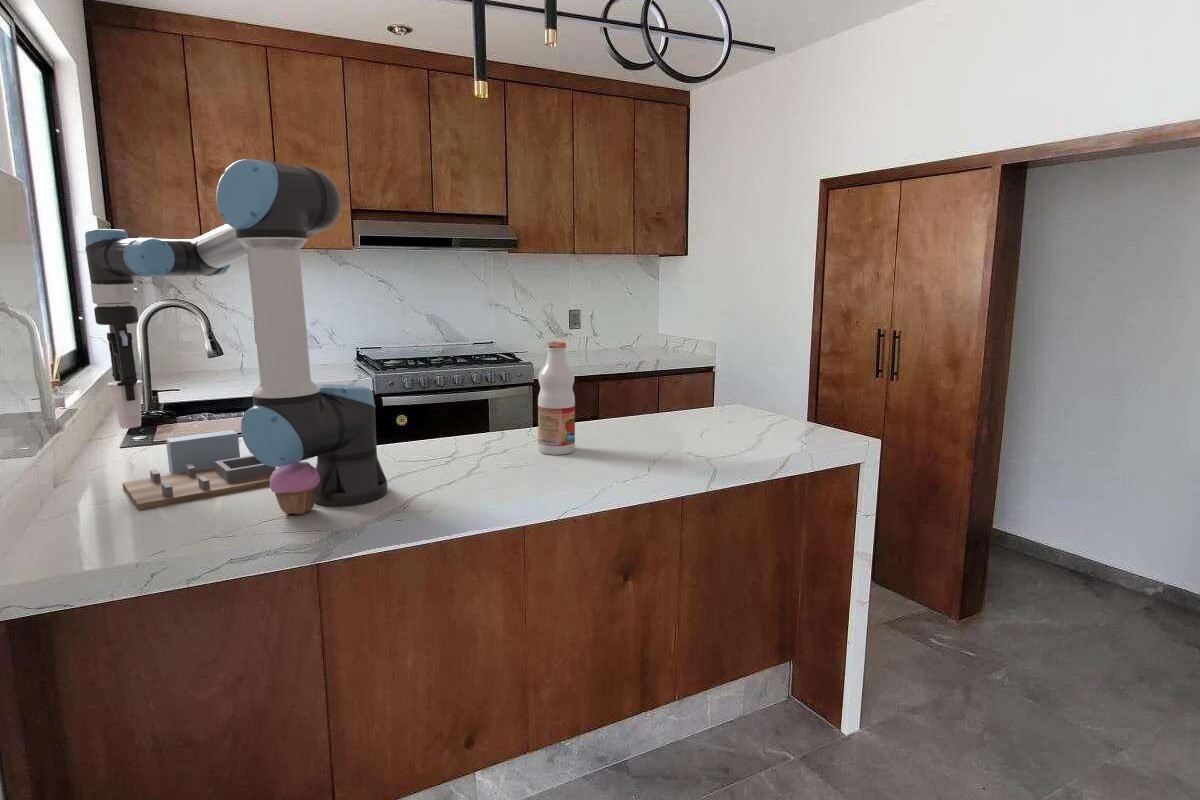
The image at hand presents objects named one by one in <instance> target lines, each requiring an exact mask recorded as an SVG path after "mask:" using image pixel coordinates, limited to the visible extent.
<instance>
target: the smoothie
mask: <svg viewBox="0 0 1200 800" xmlns="http://www.w3.org/2000/svg"><path fill="white" fill-rule="evenodd" d="M137 380H138V381H137V383H136V389H137V397H138V405H139V413H140V415H134V416H126V417H125V416H124V411H123V404H122V396H121V388H120V386H117V383H121V381H115V380H114V381H111V382H108V383H107V389H109V390H110V391H109V392H110V394H111V399H112V402H113V406H114V409H115V413H116V416H117V420H118V423H119V427H120V428H121V429H135V428H138V427H141V426H142V389H143V388H142V387H143V386H144V384H143V380H141V379H140V380H139V379H137Z"/></svg>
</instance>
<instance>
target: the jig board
mask: <svg viewBox="0 0 1200 800" xmlns="http://www.w3.org/2000/svg"><path fill="white" fill-rule="evenodd" d="M201 476H205V477H206V478H207V479H208V480H209V483H210V490H205V491H203V490H202V489H201V488H200V487H199V482H198V477H201ZM270 477H271V475H267V476H261V477H255V478H250V479H244V480H238V481H233V482H227V481H226V480H224V479H223V478H222V477H221V476H220V475H218V474H217V473H216V471H215V468H209V469H203V470H197V471H196V477H189V476H188V475H187V474H186V472H184V473H178V474H167V475H160V478H161V482H160V483H154V482H153V481H152V480H151V477H148V478H142V479H141V478H140V479H135V480H130V481H125V482H124V481H123V482H121V483H122V489H123V490H124V492H125V493H126V494H127V496H128V498H129V499H130V501H131V502H132V503H133V504H134V506H135V507H136V509H137V510H140V511H141V510H145V509H151V508H156V507H161V506H166V505H171V504H177V503H184V502H188V501H189V502H190V501H194V500H199V499H204V498H205V499H206V498H211V497H215V496H216V497H217V496H222V495H226V494H227V495H228V494H232V493H237V492H242V491H248V490H253V489H259V488H265V487H270ZM165 482H168V483H169V484H170V485H171V486H172V489H173V496H171V497H166V496H165V495H164V494H163V493H162V486H161V483H165Z"/></svg>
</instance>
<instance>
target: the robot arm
mask: <svg viewBox="0 0 1200 800" xmlns="http://www.w3.org/2000/svg"><path fill="white" fill-rule="evenodd" d="M216 188H217V189H216V193H215V194H216V195H215V196H216V197H215V198H216V200H215V202H216V207H217V211H218V214H219V215H220V217H222V221H223V222H224V223H225V224H224V225H222V226H219V227H217V228H214V229H212V230H211V231H209V232H206V233H205V234H202V235H200V236H197V237H195V238H192V239H176V238H175V239H170V238H155V237H144V236H143V237H141V236H140V237H138V238H129V236H128V232H127V231H126V230H125V229H111V228H96V229H95V228H91V229H87V230H86V232H85V233H84V241H85V247H84V250H85V253H86V261H87V266H88V273H89V280H90V291H91V297H92V304H94V305H96V306H95V307H94V308H93V310H94V320H95V323H96V324H97V325H100V326H109V332H106V340H107V341H108V348H109V354H110V361H111V371H112V377H113V379H114V382H115V381H121V383H117V386H120V388H121V396H122V404H123V411H124V416H125V417H126V416H134V415H140V413H139V405H138V397H137V389H136V383H137V381H138V380H139V379H138V377H137V371H136V364H135V357H134V356H135V355H134V350H133V336H132V335H133V334H132V332H129V331H128V327H127V325H133V324H137V323H138V322H139V313H138V307H137V306H136V305H134V303H136V302H137V299H136V294H137V293H138V292H139V289H138V288H135V282H134V281H135V280H134V277H145V278H150V277H154V278H155V277H156V278H157V277H173V276H174V277H175V276H177V277H178V276H190V277H191V276H196V277H197V276H204V277H212V276H217V275H218V276H220V275H223V274H225V273H227V272H228V269H229V268H230V267H231V264H234V263H236V262H239V261H241V260H244V259H246V258H247V263H248V264H247V265H248V272H249V283H250V291H251V292H250V294H251V302H252V303H251V305H252V313H253V321H254V332H255V343H256V352H257V362H258V370H259V373H258V374H259V382H260V383H259V386H258V387H256V389H255V390H254V391H253V393H252V404H253V406H251V407H250V408H248V409H247V410H246V411H244V414H243V416H242V418H241V421H240V432H241V436H242V440H243V442H244V444H245V447H246V448H247V449H248V451H249V453H250V454H252V455H254V456H255V458H256V459H257V460H259V461H260V462H262V463H263V464H265V465H268V466H272V467H276V468H279V467H280V466H284V465H288V464H290V465H292V464H296V463H298V462H304V461H305V460H309V459H312V458H315V457H317V458H316V461H317V462H316V466H315V468H316V470H317V471H318V473H319V475H320V482H319V484H318V485H317V486H316V487H315V489H314V504H319V505H322V506H332V507H344V506H345V507H347V506H354V505H355V506H356V505H361V504H368V503H370V502H374V501H377V500H379V499H382V498H383V497H385V496H386V495H387V493H388V491H389V490H388V481H387V478H386V475H385V473H384V470H383V468H382V466H381V462H380V460H379V458H378V449H377V425H376V404H375V399H374V392H373V391H372V390H371V389H370V388H369V387H367V386H363V385H362V386H361V385H352V384H336V383H335V384H330V383H329V384H328V383H327V384H326V383H325V384H324V383H323V384H316V383H314V382H313V381H312V379H311V378H312V377H311V376H312V375H311V369H310V368H311V367H310V366H311V365H310V356H309V355H310V353H309V344H308V331H307V323H306V320H307V319H306V311H305V299H304V289H303V288H304V287H303V277H302V263H301V255H300V250H301V248H302V247H303V246H304V245H305V244H306V243H307V242H308V238H310V237H313V236H315V235H317V234H320V233H323V232H325V231H327V230H328V229H330V228H331V227H332V226H333V225H334V224H335V223H336V222H337V220H339V217H340V215H341V212H342V211H341V210H342V199H341V194H340V191H339V189H338V188H337V186H336V184H335V183H334V182H333V180H332V179H331V178H330V177H329V176H327V175H326V174H325V173H323V172H321V170H318V169H316V168H311V167H307V166H299V165H298V166H297V165H292V164H287V163H283V162H281V163H280V162H276V161H269V160H266V159H240V160H236V161H234V162H233V163H231V164H230V165H229V166H227V168H225V171H224V173H223V174H222V175H221V176H220V178H219V181H218V184H217V187H216Z"/></svg>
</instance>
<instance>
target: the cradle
mask: <svg viewBox="0 0 1200 800" xmlns="http://www.w3.org/2000/svg"><path fill="white" fill-rule="evenodd" d="M276 469H277V467H272V466H268V465H265V464H263V463H262V462H260V461H259V460H257V459H256V458H255V456H254V455H253V454H252V455H247V456H240V457H239V458H233V459H226V460H220V461H215V471H216V473H217V474H218V475H220V476H221V477H222V478H223V479H224V480H226V481H227V482H233V481H238V480H244V479H250V478H255V477H261V476H267V475H272V473H273V471H274V470H276Z"/></svg>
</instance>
